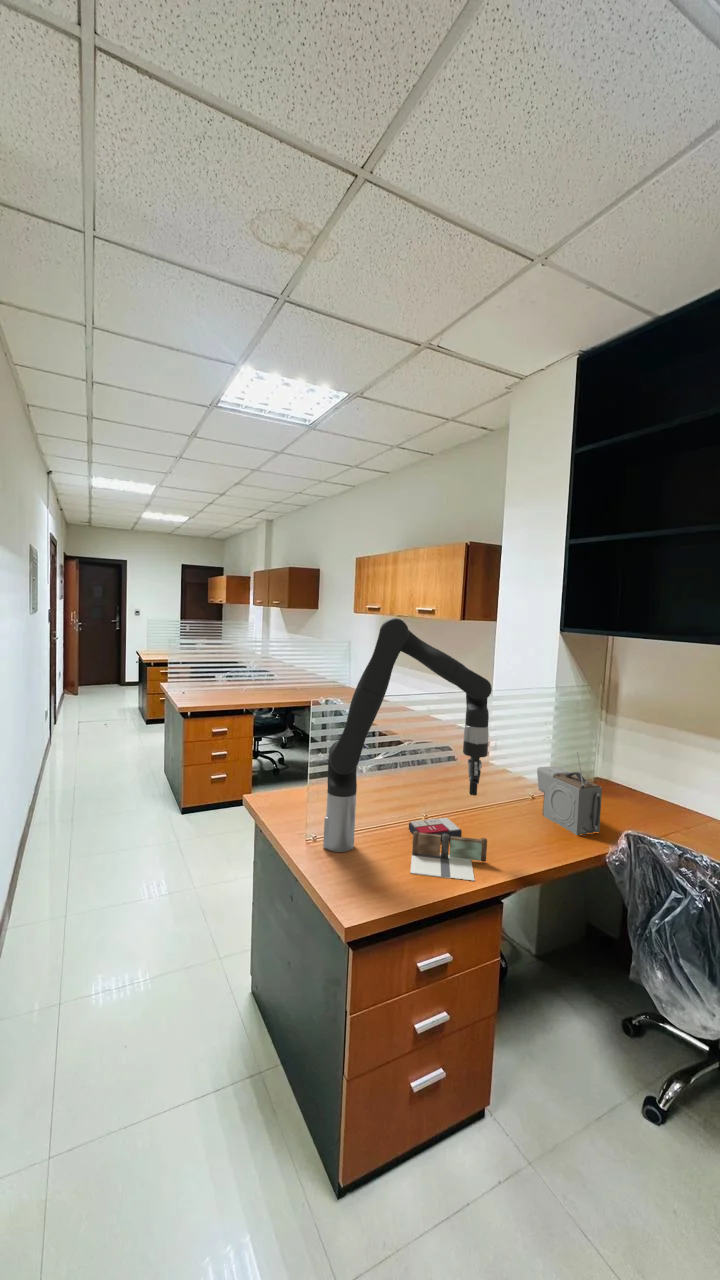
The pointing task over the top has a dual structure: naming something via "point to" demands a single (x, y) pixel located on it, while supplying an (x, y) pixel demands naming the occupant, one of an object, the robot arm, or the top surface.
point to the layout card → (442, 867)
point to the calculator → (435, 827)
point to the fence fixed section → (430, 844)
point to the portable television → (570, 799)
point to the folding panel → (468, 848)
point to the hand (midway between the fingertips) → (473, 794)
